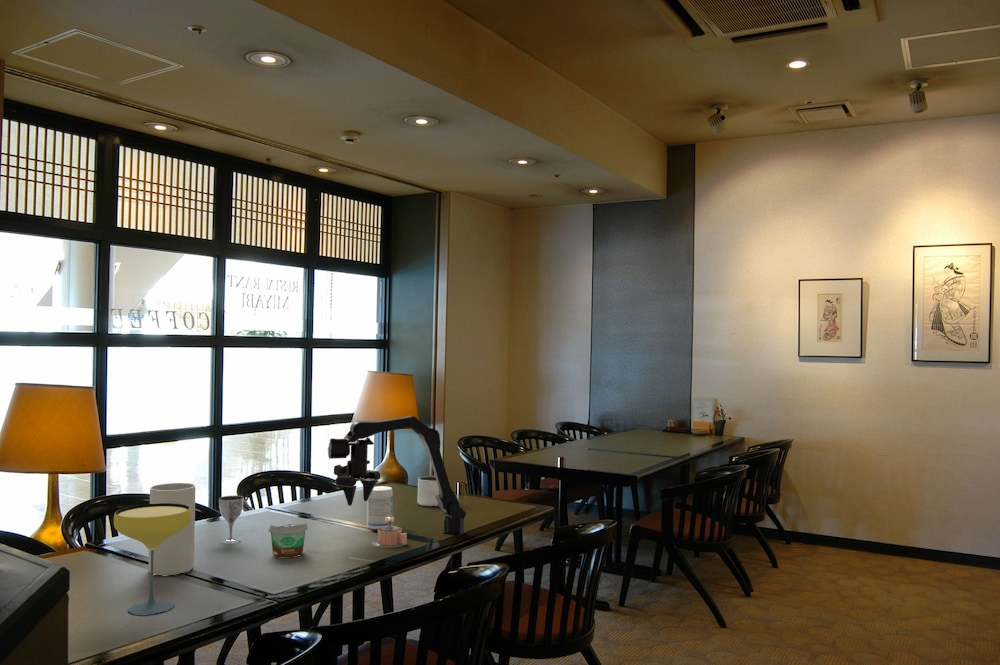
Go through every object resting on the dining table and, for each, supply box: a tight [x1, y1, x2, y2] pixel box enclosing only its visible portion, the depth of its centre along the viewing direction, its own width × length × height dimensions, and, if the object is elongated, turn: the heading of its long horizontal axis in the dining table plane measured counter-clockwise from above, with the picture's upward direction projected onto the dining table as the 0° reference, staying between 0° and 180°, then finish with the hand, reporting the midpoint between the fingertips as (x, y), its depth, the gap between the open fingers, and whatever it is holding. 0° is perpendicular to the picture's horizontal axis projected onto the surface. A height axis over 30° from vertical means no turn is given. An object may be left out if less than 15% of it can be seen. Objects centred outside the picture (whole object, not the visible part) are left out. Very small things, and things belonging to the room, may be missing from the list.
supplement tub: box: [366, 485, 394, 530], centre depth 291 cm, size 10×10×15 cm
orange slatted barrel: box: [377, 525, 408, 546], centre depth 266 cm, size 10×8×5 cm
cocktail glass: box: [113, 503, 191, 615], centre depth 200 cm, size 18×18×25 cm
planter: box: [416, 475, 439, 507], centre depth 335 cm, size 12×12×11 cm
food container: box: [268, 521, 308, 558], centre depth 251 cm, size 12×6×10 cm, turn 117°
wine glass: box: [218, 495, 244, 541], centre depth 268 cm, size 8×8×15 cm
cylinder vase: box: [148, 482, 196, 575], centre depth 233 cm, size 12×12×25 cm
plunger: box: [385, 516, 395, 532], centre depth 266 cm, size 5×5×8 cm
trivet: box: [371, 540, 408, 549], centre depth 266 cm, size 12×12×1 cm
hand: (357, 503), depth 270 cm, fingers open, 9 cm apart
